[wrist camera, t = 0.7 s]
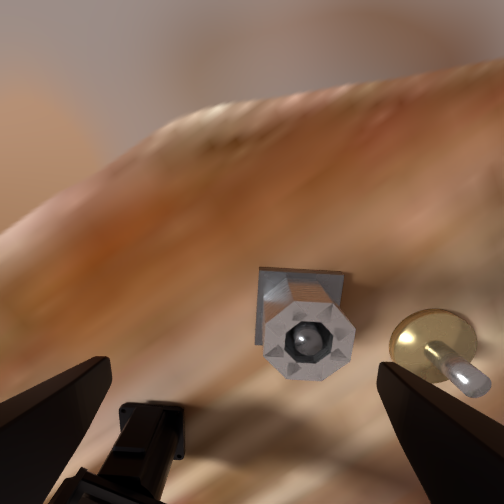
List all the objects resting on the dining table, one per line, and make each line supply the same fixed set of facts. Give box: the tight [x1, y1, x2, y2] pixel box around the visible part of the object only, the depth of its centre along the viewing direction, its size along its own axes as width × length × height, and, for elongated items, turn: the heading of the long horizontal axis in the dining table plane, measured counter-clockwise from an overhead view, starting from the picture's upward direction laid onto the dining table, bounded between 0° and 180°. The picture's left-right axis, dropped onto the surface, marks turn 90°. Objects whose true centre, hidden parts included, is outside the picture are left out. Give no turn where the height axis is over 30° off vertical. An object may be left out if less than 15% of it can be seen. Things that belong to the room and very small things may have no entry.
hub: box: [389, 309, 491, 398], centre depth 19 cm, size 7×7×5 cm
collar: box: [262, 278, 356, 381], centre depth 18 cm, size 6×6×4 cm
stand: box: [255, 267, 344, 355], centre depth 18 cm, size 7×7×6 cm
